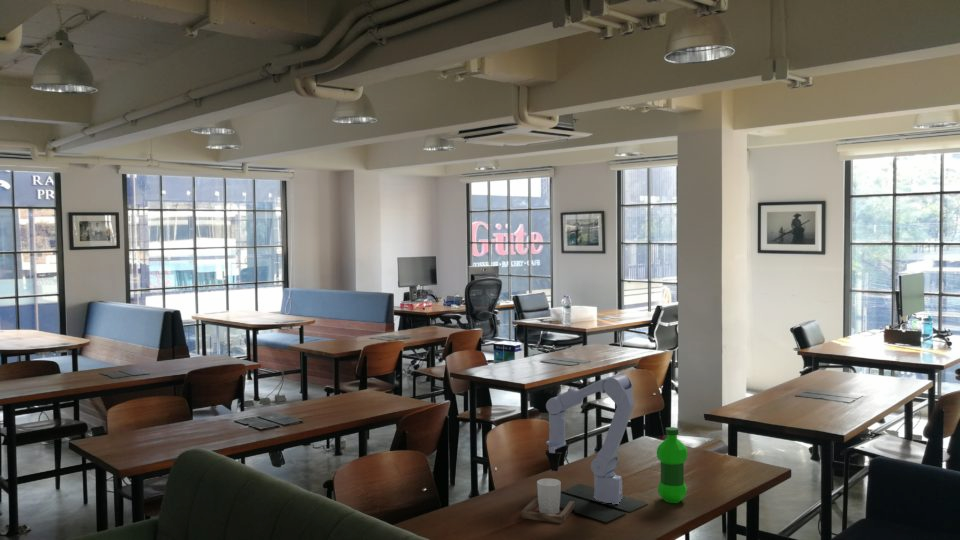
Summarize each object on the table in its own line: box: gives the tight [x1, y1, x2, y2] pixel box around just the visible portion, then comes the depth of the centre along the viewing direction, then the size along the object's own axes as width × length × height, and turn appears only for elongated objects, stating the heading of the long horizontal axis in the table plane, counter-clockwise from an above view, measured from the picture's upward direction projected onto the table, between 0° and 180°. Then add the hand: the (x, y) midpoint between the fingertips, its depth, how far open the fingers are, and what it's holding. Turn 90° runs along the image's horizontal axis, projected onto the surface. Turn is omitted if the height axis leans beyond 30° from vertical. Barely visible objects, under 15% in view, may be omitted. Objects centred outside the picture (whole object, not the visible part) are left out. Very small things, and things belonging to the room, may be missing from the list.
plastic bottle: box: [656, 426, 689, 504], centre depth 266 cm, size 10×10×25 cm
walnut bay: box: [521, 496, 576, 524], centre depth 257 cm, size 14×16×2 cm
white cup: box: [536, 478, 562, 515], centre depth 258 cm, size 8×8×10 cm
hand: (557, 467), depth 278 cm, fingers open, 7 cm apart
